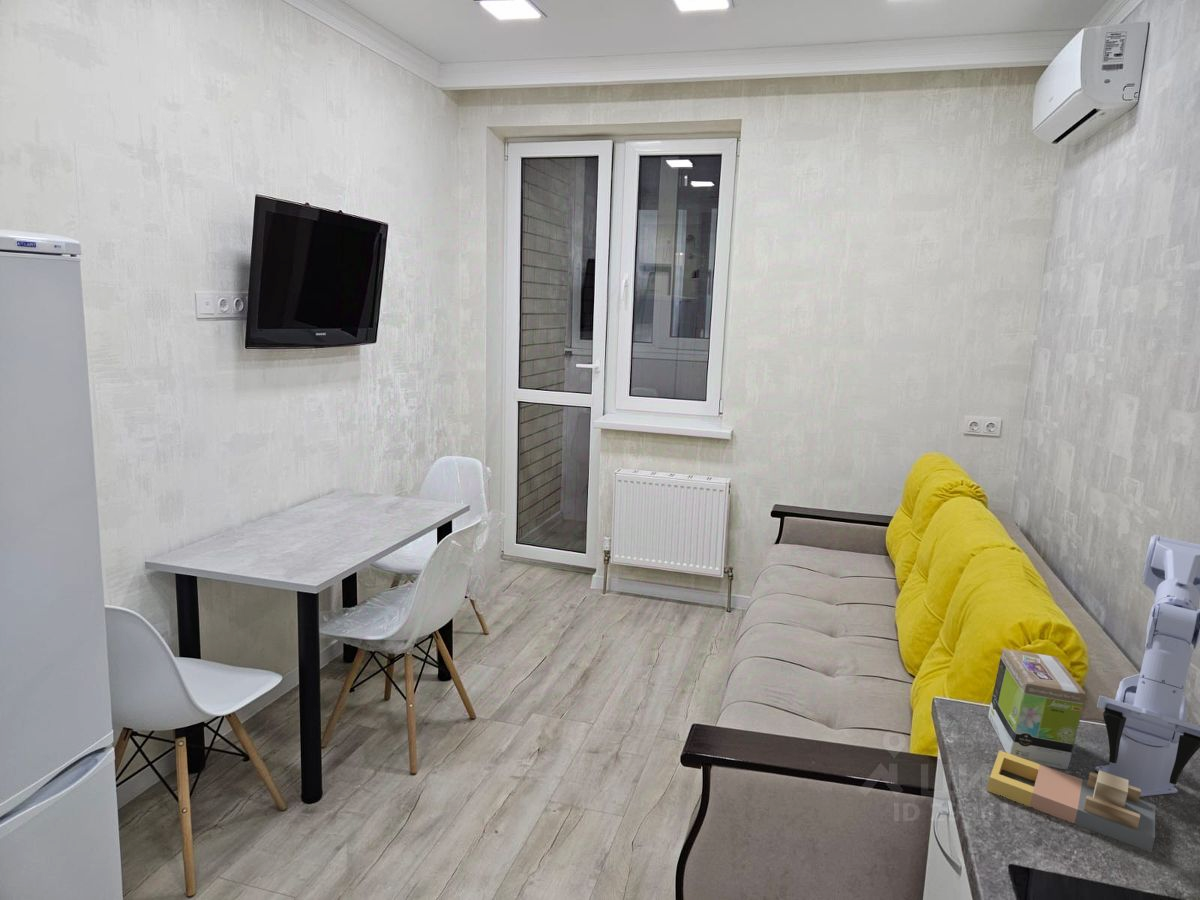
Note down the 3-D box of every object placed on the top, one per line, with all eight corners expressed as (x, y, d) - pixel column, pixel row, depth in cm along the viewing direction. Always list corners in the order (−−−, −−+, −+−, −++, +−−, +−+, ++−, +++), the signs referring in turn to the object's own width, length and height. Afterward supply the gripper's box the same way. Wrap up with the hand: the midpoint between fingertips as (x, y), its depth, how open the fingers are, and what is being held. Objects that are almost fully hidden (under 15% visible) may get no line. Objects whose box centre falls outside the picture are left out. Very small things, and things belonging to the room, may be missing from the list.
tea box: (1070, 771, 140) (1088, 693, 137) (1008, 760, 142) (1024, 683, 139) (1042, 726, 154) (1058, 654, 151) (986, 716, 156) (1000, 645, 153)
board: (1151, 818, 129) (1155, 804, 128) (1151, 852, 120) (1155, 837, 120) (996, 763, 141) (999, 750, 140) (987, 790, 132) (989, 777, 132)
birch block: (1122, 802, 128) (1128, 780, 127) (1122, 815, 125) (1127, 792, 124) (1093, 792, 130) (1098, 770, 129) (1092, 804, 127) (1097, 781, 126)
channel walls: (1138, 800, 129) (1141, 789, 129) (1137, 829, 122) (1140, 817, 121) (1087, 782, 133) (1090, 771, 132) (1083, 809, 125) (1086, 798, 125)
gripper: (1102, 666, 125) (1082, 753, 124) (1219, 699, 116) (1198, 794, 114) (1109, 669, 131) (1090, 753, 129) (1222, 701, 121) (1203, 792, 119)
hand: (1141, 772), depth 122 cm, fingers open, 7 cm apart
